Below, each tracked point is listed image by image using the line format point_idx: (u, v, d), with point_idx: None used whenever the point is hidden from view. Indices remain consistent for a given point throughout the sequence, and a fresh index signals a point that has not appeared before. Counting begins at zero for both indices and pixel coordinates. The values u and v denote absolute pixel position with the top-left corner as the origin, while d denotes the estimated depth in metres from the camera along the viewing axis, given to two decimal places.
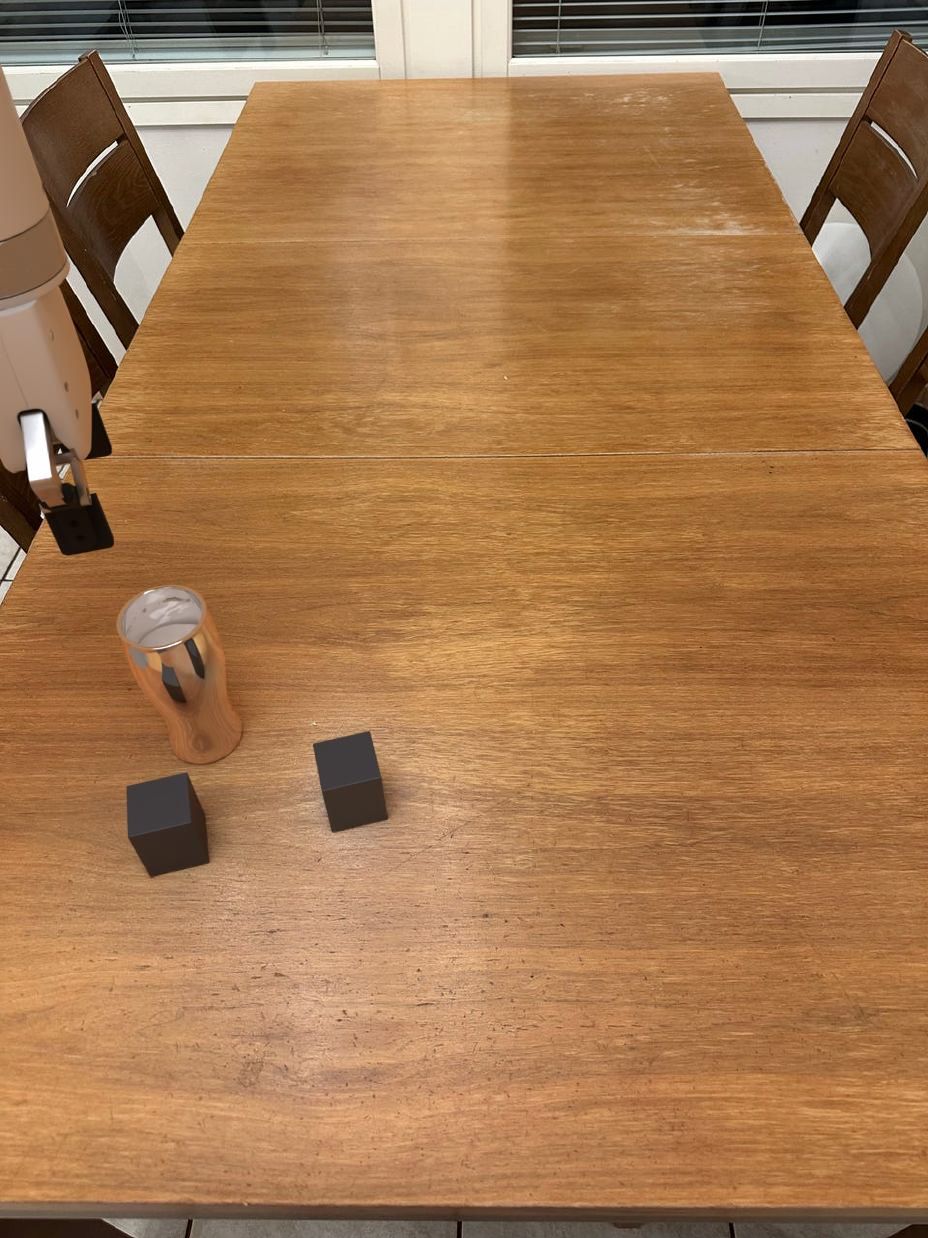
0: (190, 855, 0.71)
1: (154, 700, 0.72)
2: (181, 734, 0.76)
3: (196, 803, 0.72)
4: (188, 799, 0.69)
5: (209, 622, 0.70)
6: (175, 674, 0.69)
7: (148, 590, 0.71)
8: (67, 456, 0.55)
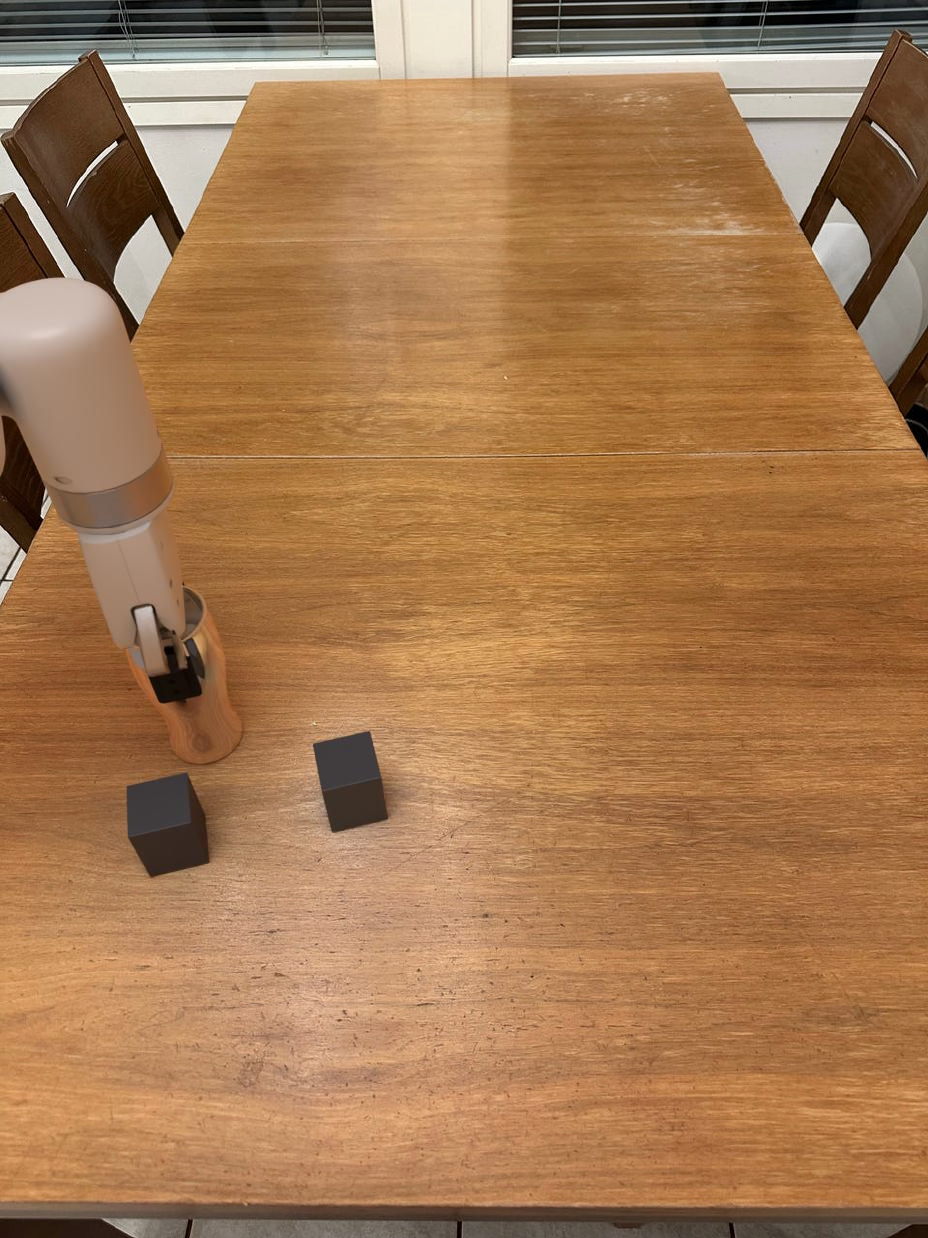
0: (190, 855, 0.71)
1: (154, 700, 0.72)
2: (181, 734, 0.76)
3: (196, 803, 0.72)
4: (188, 799, 0.69)
5: (209, 622, 0.70)
6: None
7: None
8: (169, 634, 0.66)
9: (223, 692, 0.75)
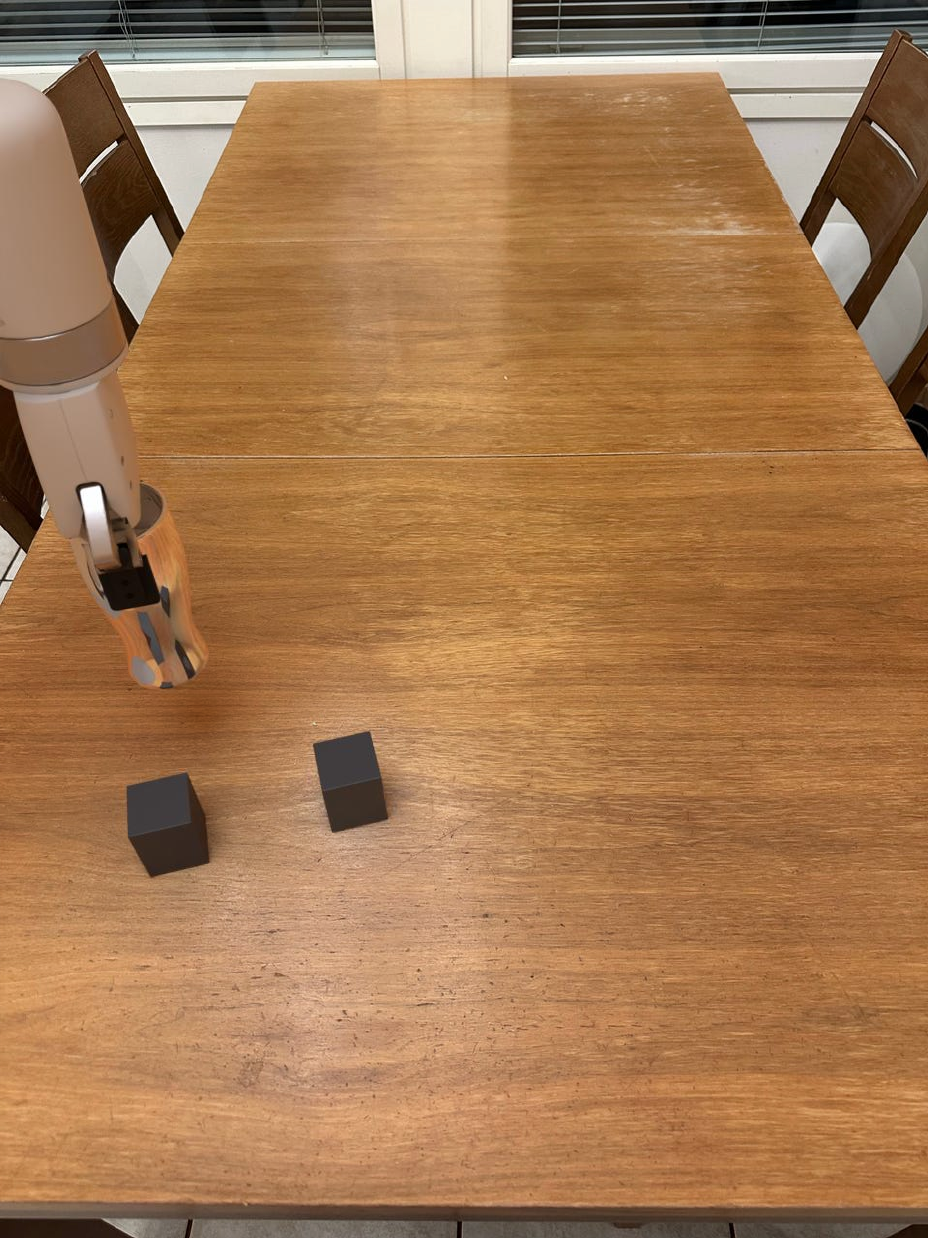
0: (190, 855, 0.71)
1: (107, 610, 0.65)
2: (139, 654, 0.69)
3: (196, 803, 0.72)
4: (188, 799, 0.69)
5: (170, 521, 0.63)
6: None
7: None
8: (121, 524, 0.58)
9: (186, 606, 0.68)
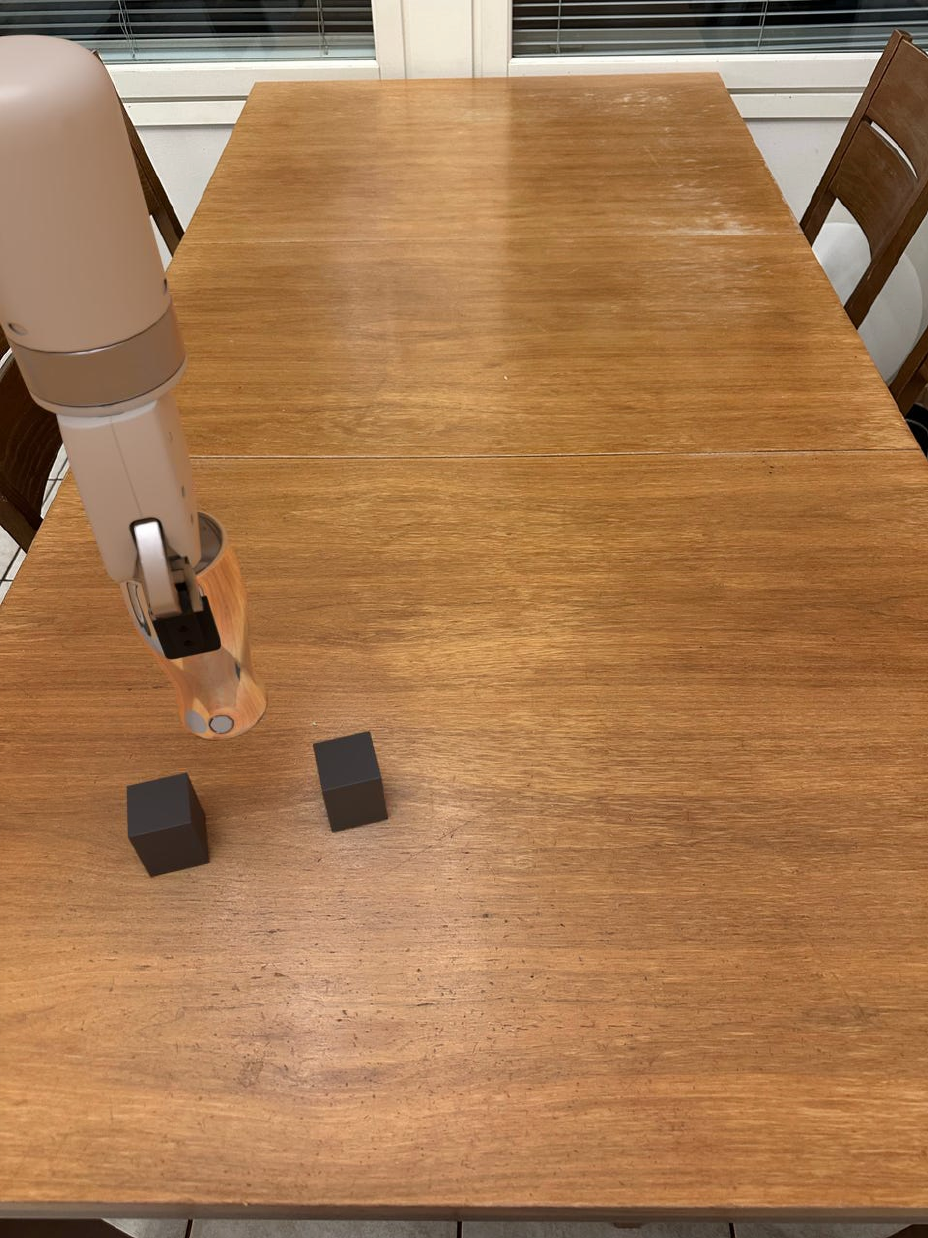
0: (190, 855, 0.71)
1: (160, 656, 0.57)
2: (193, 702, 0.61)
3: (196, 803, 0.72)
4: (188, 799, 0.69)
5: (230, 554, 0.55)
6: None
7: None
8: (179, 564, 0.50)
9: (246, 648, 0.60)
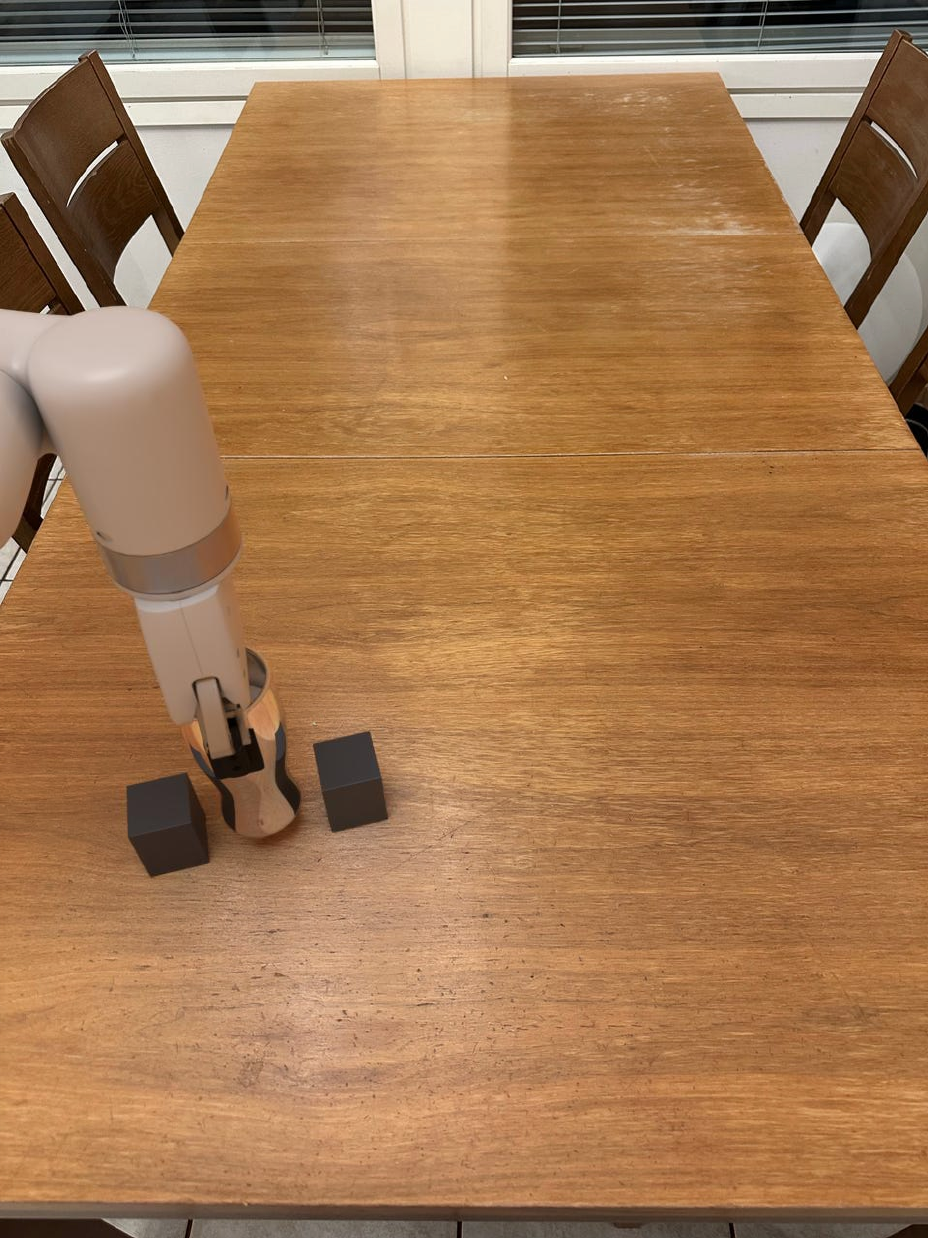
0: (190, 855, 0.71)
1: (209, 773, 0.64)
2: (236, 807, 0.68)
3: (196, 803, 0.72)
4: (188, 799, 0.69)
5: (273, 687, 0.62)
6: None
7: None
8: (232, 706, 0.58)
9: (284, 761, 0.67)
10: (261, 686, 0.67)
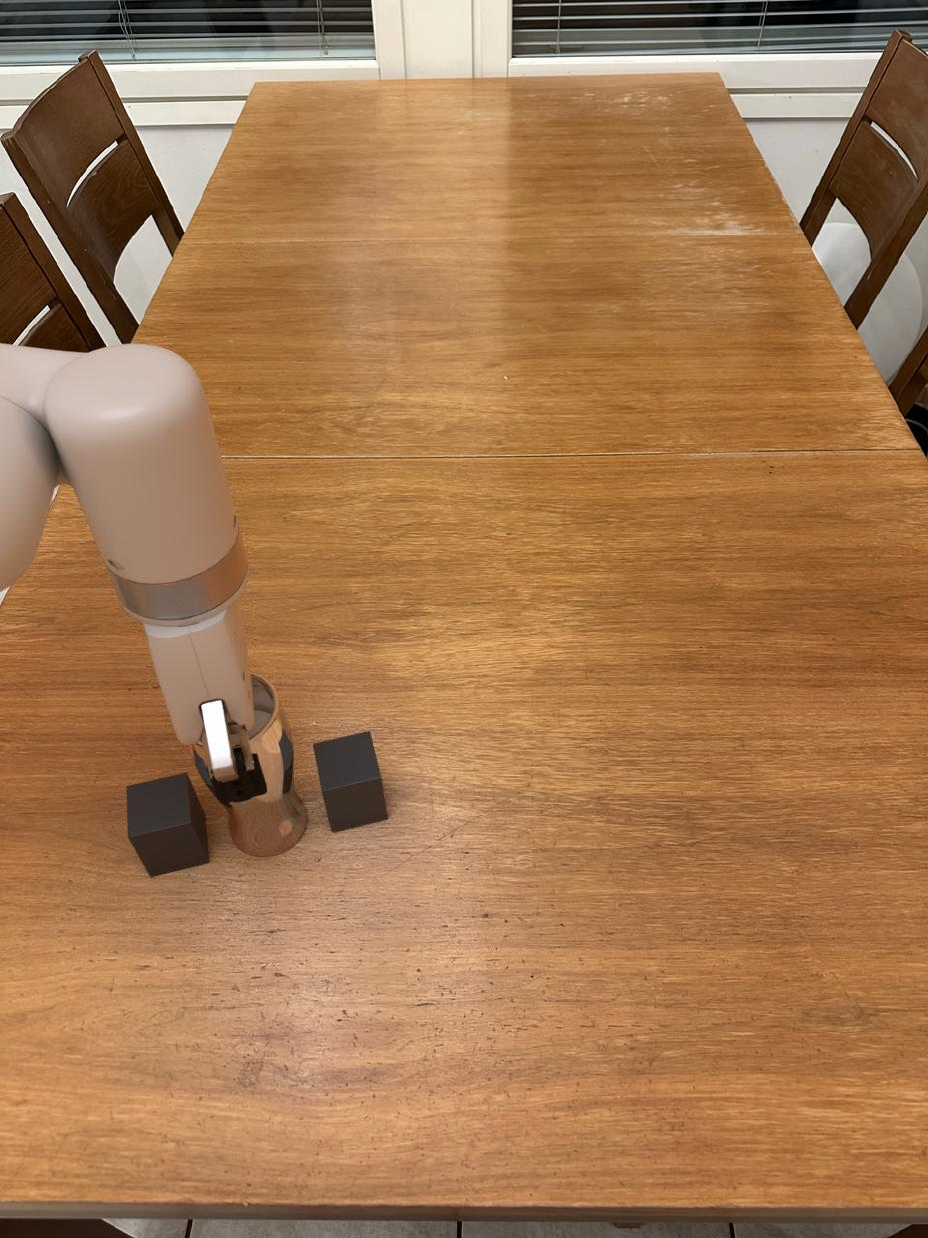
0: (190, 855, 0.71)
1: None
2: (244, 827, 0.70)
3: (196, 803, 0.72)
4: (188, 799, 0.69)
5: (281, 714, 0.65)
6: None
7: None
8: (235, 728, 0.58)
9: (291, 784, 0.69)
10: (269, 711, 0.69)
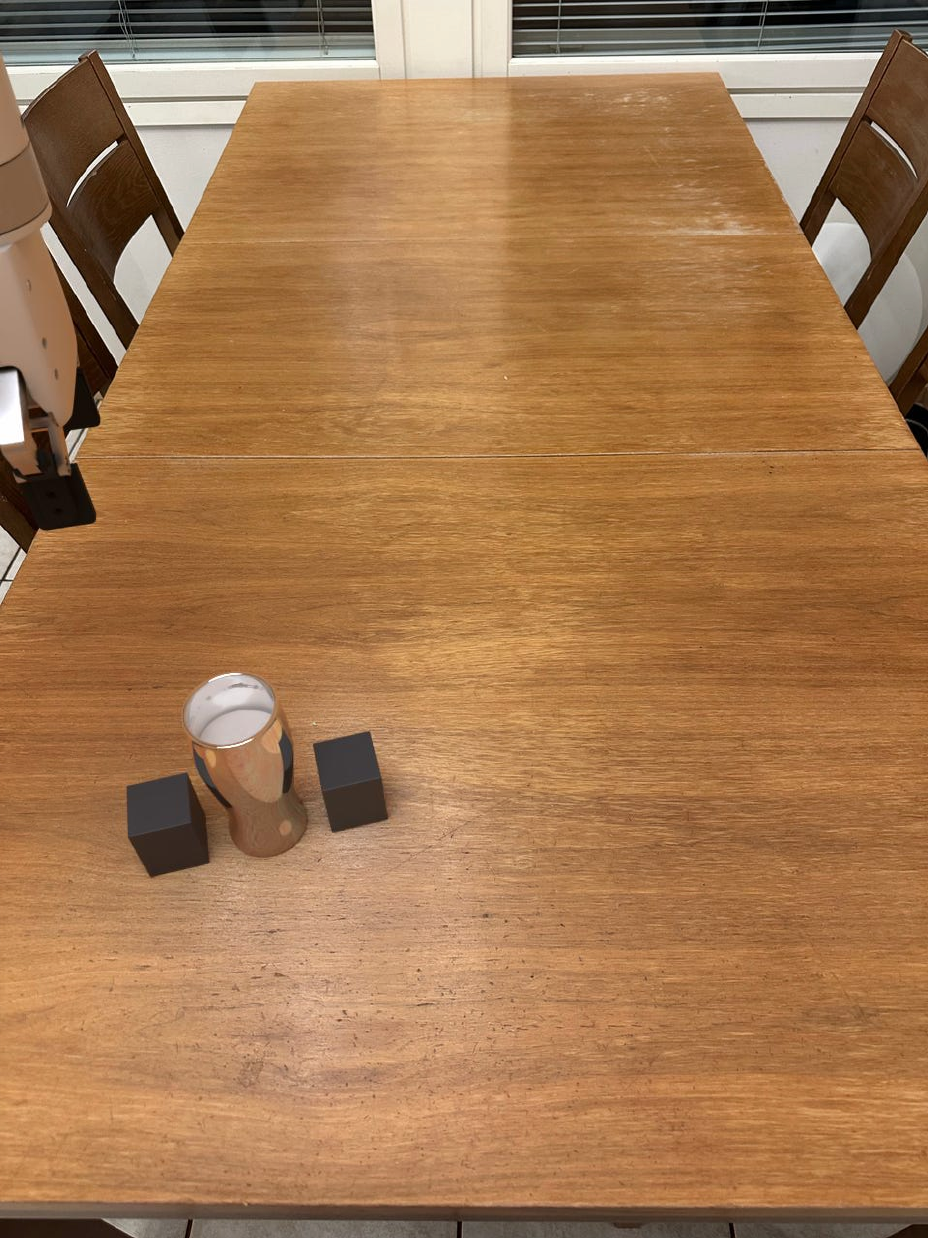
0: (190, 855, 0.71)
1: (219, 796, 0.66)
2: (245, 827, 0.70)
3: (196, 803, 0.72)
4: (188, 799, 0.69)
5: (281, 714, 0.64)
6: (245, 772, 0.64)
7: (213, 677, 0.65)
8: (45, 421, 0.50)
9: (291, 784, 0.69)
10: (269, 711, 0.69)
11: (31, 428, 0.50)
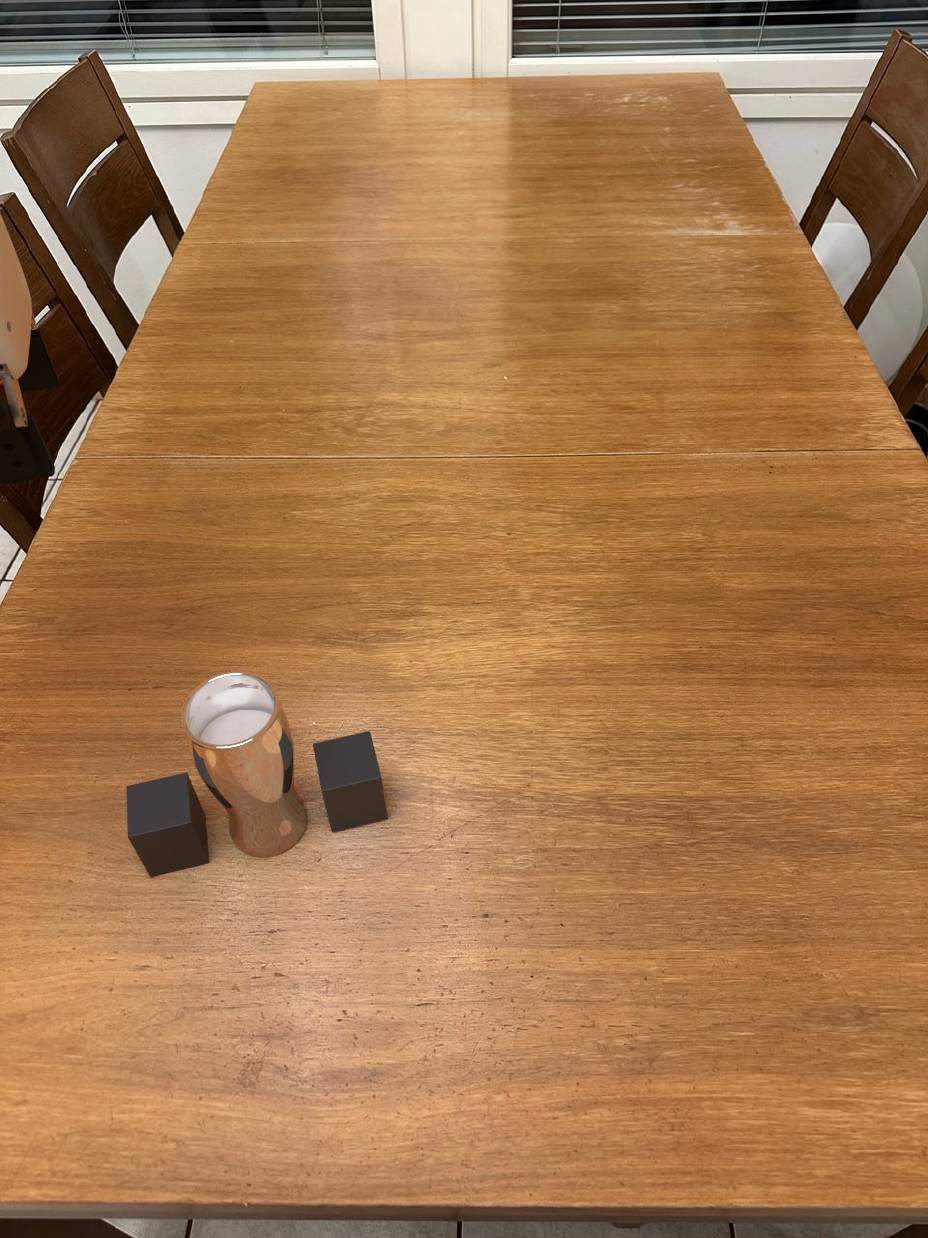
0: (190, 855, 0.71)
1: (219, 796, 0.66)
2: (245, 828, 0.70)
3: (196, 803, 0.72)
4: (188, 799, 0.69)
5: (281, 714, 0.64)
6: (245, 772, 0.64)
7: (213, 677, 0.65)
8: (0, 373, 0.52)
9: (291, 784, 0.69)
10: (269, 711, 0.69)
11: None
